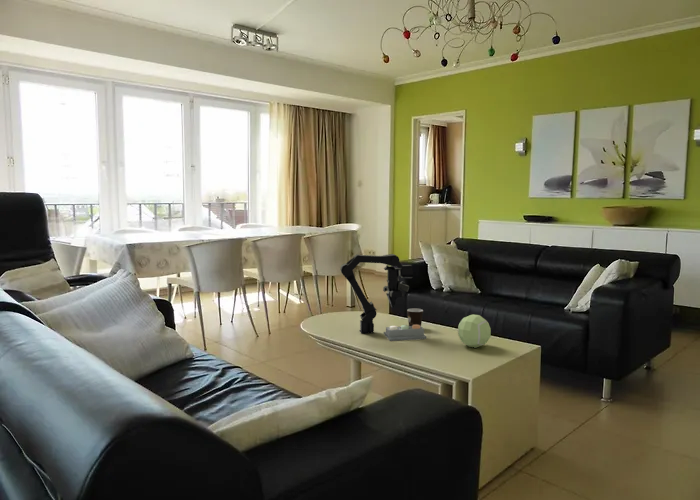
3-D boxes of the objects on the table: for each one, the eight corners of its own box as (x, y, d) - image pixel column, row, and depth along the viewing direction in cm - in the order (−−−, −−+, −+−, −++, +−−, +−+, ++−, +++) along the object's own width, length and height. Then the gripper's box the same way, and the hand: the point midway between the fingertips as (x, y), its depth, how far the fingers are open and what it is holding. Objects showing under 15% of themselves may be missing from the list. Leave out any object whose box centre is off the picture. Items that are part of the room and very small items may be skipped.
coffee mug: (423, 330, 279) (424, 311, 278) (407, 330, 280) (407, 311, 279) (421, 325, 291) (421, 307, 290) (405, 324, 291) (405, 307, 290)
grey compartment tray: (390, 340, 259) (390, 332, 258) (383, 334, 271) (383, 325, 271) (426, 339, 262) (426, 330, 262) (418, 332, 275) (418, 324, 274)
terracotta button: (413, 334, 265) (413, 326, 265) (411, 332, 269) (411, 324, 269) (421, 333, 266) (421, 326, 266) (418, 331, 270) (418, 324, 270)
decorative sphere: (452, 346, 248) (452, 315, 247) (467, 340, 260) (467, 310, 258) (480, 352, 239) (481, 320, 237) (495, 345, 250) (496, 315, 248)
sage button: (402, 334, 264) (402, 327, 264) (400, 332, 268) (400, 325, 268) (409, 334, 265) (409, 326, 265) (407, 332, 269) (407, 324, 269)
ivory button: (390, 335, 263) (390, 327, 263) (388, 333, 267) (388, 325, 267) (398, 335, 264) (398, 327, 264) (396, 333, 268) (396, 325, 267)
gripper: (413, 280, 266) (412, 310, 268) (402, 275, 285) (402, 303, 286) (391, 281, 264) (391, 311, 266) (383, 275, 283) (383, 304, 284)
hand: (392, 307), depth 276 cm, fingers closed
